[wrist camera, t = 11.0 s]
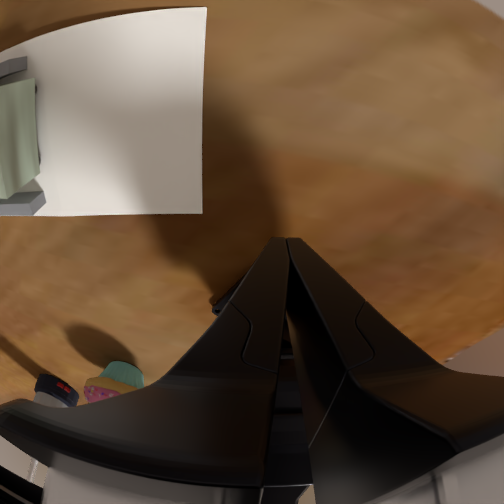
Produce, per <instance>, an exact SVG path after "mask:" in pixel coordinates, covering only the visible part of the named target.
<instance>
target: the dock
mask: <svg viewBox="0 0 504 504" xmlns="http://www.w3.org/2000/svg"><path fill="white" fill-rule="evenodd" d="M206 15H207V7H193V8H175V9H163V10H153V11H145V12H137V13H131V14H124V15H119V16H113V17H108V18H103V19H98V20H94V21H89V22H85V23H81V24H77V25H73V26H70V27H66V28H63V29H59V30H56V31H53V32H50V33H47V34H44V35H41V36H38V37H35V38H33V39H30V40H28V41H25V42H23V43H20V44H18V45H16V46H13V47H11V48H9V49H6V50H4V51H2V52H0V85H2V84H6V83H10V82H15V81H20V80H25V79H30V78H35V84H36V86H37V93H36V95H35V118H36V136H37V148H38V154H39V155H40V158H41V163H40V166H39V167H40V174H38V175H37V176H36V177H34V178H33V179H32V180H31V181H29V182H28V183H27V184H25V185H24V186H23V187H22V188H20V189H19V190H18V191H17V192H15V193H14V194H13V195H12V196H11V197H9V198H8V199H0V216H84V215H120V214H203V212H202V106H203V72H204V49H205V30H206Z"/></svg>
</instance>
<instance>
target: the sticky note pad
mask: <svg viewBox="0 0 504 504" xmlns="http://www.w3.org/2000/svg"><path fill="white" fill-rule="evenodd" d="M36 93H37V86H36V84H35V78H30V79H25V80H20V81H15V82H10V83H6V84H2V85H0V199H8V198H9V197H11V196H12V195H13V194H14V193H15V192H17V191H18V190H19V189H20V188H22V187H23V186H24V185H25V184H27V183H28V182H29V181H31V180H32V179H33V178H34V177H36V176H37V175H38V174H40V167H39V166H40V163H41V158H40V155H39V154H38V148H37V136H36V118H35V95H36Z"/></svg>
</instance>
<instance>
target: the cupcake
mask: <svg viewBox="0 0 504 504" xmlns="http://www.w3.org/2000/svg"><path fill="white" fill-rule="evenodd" d="M143 387H144V380H143V374H142V372H141V371H140V370H139V369H138V368H136V367H135V366H133V365H131V364H128V363H125V362H121V361H113V362H111V363H109V365H108V366H107V367H106V368H105V370H104V371H103V372H102V373H101V374H100V375H99V376H98V377H94V378H89V379H87V381H86V384H85V386H84V393H85V397H86V400H87V401H88V403H92V402H96V401H99V400H103V399H106V398H110V397H114V396H117V395H120V394H124V393H127V392H130V391H134V390H137V389H140V388H143Z"/></svg>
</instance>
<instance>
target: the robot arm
mask: <svg viewBox="0 0 504 504" xmlns="http://www.w3.org/2000/svg"><path fill="white" fill-rule="evenodd" d="M365 301H366V300H365V299H364V298H363V297H362V296H361V295H360V294H359V293H358V292H357V291H356V290H355V289H354V288H353V287H352V286H351V285H350V284H349V283H348V282H347V281H346V280H345V279H344V278H343V277H341V276H340V275H339V274H338V273H337V272H336V271H335V270H334V269H333V268H332V267H331V266H330V265H329V264H328V263H327V262H326V261H325V260H324V259H322V258H321V257H320V256H319V255H318V254H317V253H316V252H315V251H314V250H313V249H312V248H311V247H310V246H309V245H307V244H306V243H305V242H304V241H303V240H302V239H301V238H286V239H285V238H283V237H272V238H271V239H270V240H269V242H268V243H267V245H266V246H265V248H264V249H263V251H262V252H261V254H260V255H259V257H258V258H257V260H256V261H255V262H254V264H253V265H252V267H251V268H250V270H249V271H248V273H246V274H245V275H244V276H243V277H242V278H241V279H240V280H239V281H238V282H237V283H236V284H235V285H234V286H233V287H232V288H231V289H230V290H229V291H228V292H227V293H226V294H225V295H224V296H223V297H221V298H220V299H219V300H218V301H217V302H216V303H215V304H214V305H213V307H212V312H213V313H214V314H215V315H217V316H218V317H217V318H216V319H215V321H214V322H213V323H212V325H211V326H210V327H209V328H208V329H207V330H206V331H205V333H204V334H203V335H202V336H201V337H200V338H199V339H198V340H197V341H196V343H195V344H194V345H193V346H192V347H191V348H190V349H189V350H188V351H187V352H186V353H185V354H184V355H183V356H182V357H181V358H180V360H179V361H178V362H177V363H176V364H175V365H174V366H173V367H172V368H171V369H170V370H169V371H168V372H167V373H166V374H165V375H164V376H163V377H161V378H160V379H159V380H157V381H156V382H154V383H153V384H151V385H149V386H146V387H143V388H140V389H137V390H134V391H130V392H127V393H124V394H120V395H117V396H114V397H110V398H106V399H103V400H99V401H96V402H92V403H88V404H84V405H80V406H75V407H64V408H59V407H50V406H45V405H42V404H39V403H36V402H33V401H30V400H27V399H16V400H13V401H10V402H7V403H4V404H1V405H0V435H1V436H2V437H3V438H5V439H6V440H7V441H9V442H10V443H12V444H13V445H15V446H16V447H17V448H19V449H20V450H22V451H23V452H25V453H26V454H28V455H29V456H31V457H33V458H34V459H36V460H37V461H39V462H41V463H42V464H44V465H46V466H47V467H49V468H48V471H47V475H46V479H45V483H44V488H41V487H39V486H37V485H35V484H33V483H31V482H29V481H27V480H25V479H23V478H22V477H19V476H18V475H16V474H14V473H13V472H11V471H9V470H7V469H5V468H4V467H2V466H1V465H0V504H298V500H299V498H300V497H301V496H302V495H303V493H304V492H305V491H306V490H307V488H308V487H309V486H310V485H314V492H315V500H316V504H504V377H499V376H489V375H480V374H471V373H463V372H457V371H454V370H451V369H448V368H446V367H444V366H443V365H441V364H439V363H438V362H437V361H435V360H434V359H433V358H432V357H431V356H429V355H428V354H427V353H426V352H425V351H423V350H422V349H421V348H420V347H418V346H417V345H416V344H415V343H414V342H412V341H411V340H410V339H409V338H408V337H406V336H405V335H404V334H403V333H401V332H400V331H399V330H398V329H397V328H396V327H394V326H393V325H392V324H391V323H390V322H389V321H387V320H386V319H385V318H384V317H383V316H382V315H381V314H380V313H379V312H378V311H377V310H376V309H375V308H374V307H373V306H372V305H371V304H370V303H369V302H367V301H366V302H365ZM217 309H219V310H217Z"/></svg>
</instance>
